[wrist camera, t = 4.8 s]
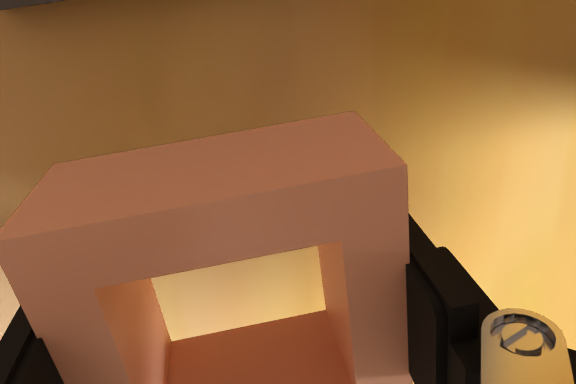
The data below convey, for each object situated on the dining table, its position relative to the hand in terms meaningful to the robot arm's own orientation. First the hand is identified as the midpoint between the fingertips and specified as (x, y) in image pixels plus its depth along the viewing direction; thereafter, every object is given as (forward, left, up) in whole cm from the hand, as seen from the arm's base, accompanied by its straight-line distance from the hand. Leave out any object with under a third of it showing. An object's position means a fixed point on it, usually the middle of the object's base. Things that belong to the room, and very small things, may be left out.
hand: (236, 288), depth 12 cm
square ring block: (0, 0, -1) cm, 1 cm away
